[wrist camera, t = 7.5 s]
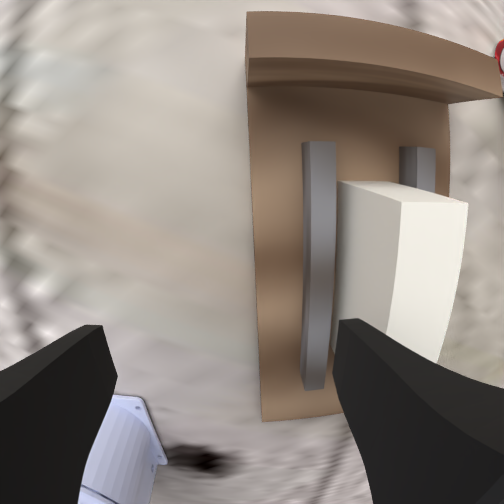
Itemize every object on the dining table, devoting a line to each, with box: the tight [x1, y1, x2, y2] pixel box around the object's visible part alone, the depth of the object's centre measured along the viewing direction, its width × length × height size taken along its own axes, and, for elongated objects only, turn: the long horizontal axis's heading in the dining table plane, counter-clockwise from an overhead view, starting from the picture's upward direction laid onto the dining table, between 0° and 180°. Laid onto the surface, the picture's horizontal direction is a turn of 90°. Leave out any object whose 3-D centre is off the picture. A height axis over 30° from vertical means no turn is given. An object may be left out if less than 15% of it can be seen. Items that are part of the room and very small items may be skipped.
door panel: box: [330, 181, 468, 364], centre depth 14 cm, size 10×4×7 cm, turn 3°
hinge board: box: [245, 11, 503, 422], centre depth 15 cm, size 24×12×6 cm, turn 3°
